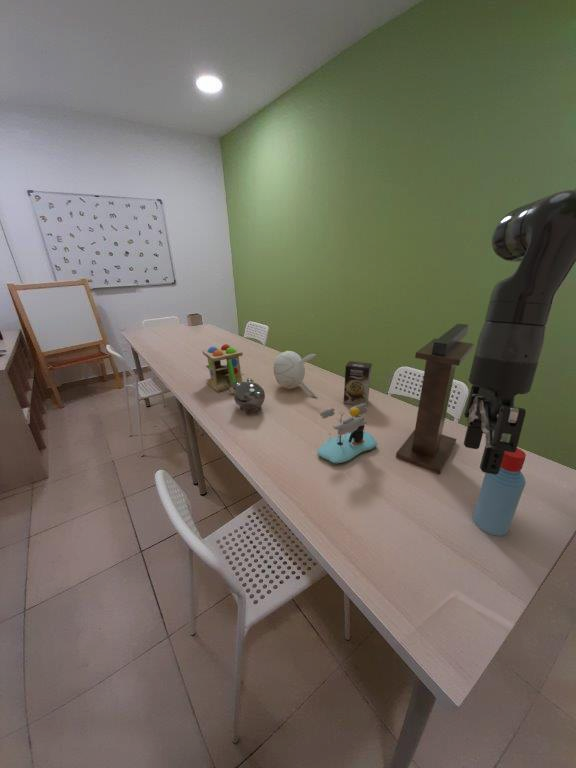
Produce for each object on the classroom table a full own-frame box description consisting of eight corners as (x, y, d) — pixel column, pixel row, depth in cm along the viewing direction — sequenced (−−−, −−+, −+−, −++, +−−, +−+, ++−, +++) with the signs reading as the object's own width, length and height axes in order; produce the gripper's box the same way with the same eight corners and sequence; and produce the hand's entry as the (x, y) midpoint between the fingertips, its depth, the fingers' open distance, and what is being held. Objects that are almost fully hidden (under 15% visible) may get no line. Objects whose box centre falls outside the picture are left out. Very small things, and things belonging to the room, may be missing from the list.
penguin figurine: (360, 431, 101) (363, 390, 94) (384, 447, 92) (389, 404, 86) (310, 450, 92) (310, 407, 86) (332, 470, 83) (333, 423, 77)
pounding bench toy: (254, 391, 133) (251, 352, 126) (224, 399, 126) (219, 359, 119) (234, 375, 151) (230, 340, 144) (206, 382, 144) (201, 346, 137)
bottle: (509, 520, 66) (535, 451, 59) (506, 541, 62) (532, 469, 54) (475, 506, 70) (495, 440, 63) (469, 525, 66) (490, 455, 58)
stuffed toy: (262, 352, 132) (303, 356, 114) (285, 347, 141) (326, 350, 123) (266, 393, 137) (305, 403, 119) (287, 386, 146) (327, 394, 128)
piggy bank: (251, 398, 126) (249, 373, 121) (273, 411, 115) (271, 384, 111) (228, 407, 119) (224, 381, 115) (248, 421, 109) (246, 393, 104)
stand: (455, 443, 93) (479, 343, 80) (439, 474, 81) (464, 361, 68) (416, 430, 100) (431, 337, 87) (395, 457, 88) (410, 352, 75)
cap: (522, 464, 60) (526, 450, 58) (520, 474, 57) (525, 460, 56) (498, 456, 62) (502, 443, 61) (495, 466, 59) (499, 452, 58)
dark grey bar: (466, 334, 89) (468, 324, 87) (444, 355, 72) (447, 343, 71) (455, 333, 90) (457, 323, 89) (431, 353, 74) (433, 341, 72)
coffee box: (342, 403, 119) (344, 365, 113) (346, 396, 125) (348, 360, 118) (366, 407, 116) (369, 368, 110) (368, 400, 122) (372, 362, 115)
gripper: (566, 367, 35) (528, 489, 39) (514, 353, 48) (489, 444, 52) (494, 359, 37) (464, 476, 41) (463, 347, 50) (443, 436, 54)
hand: (478, 458), depth 47 cm, fingers open, 8 cm apart
